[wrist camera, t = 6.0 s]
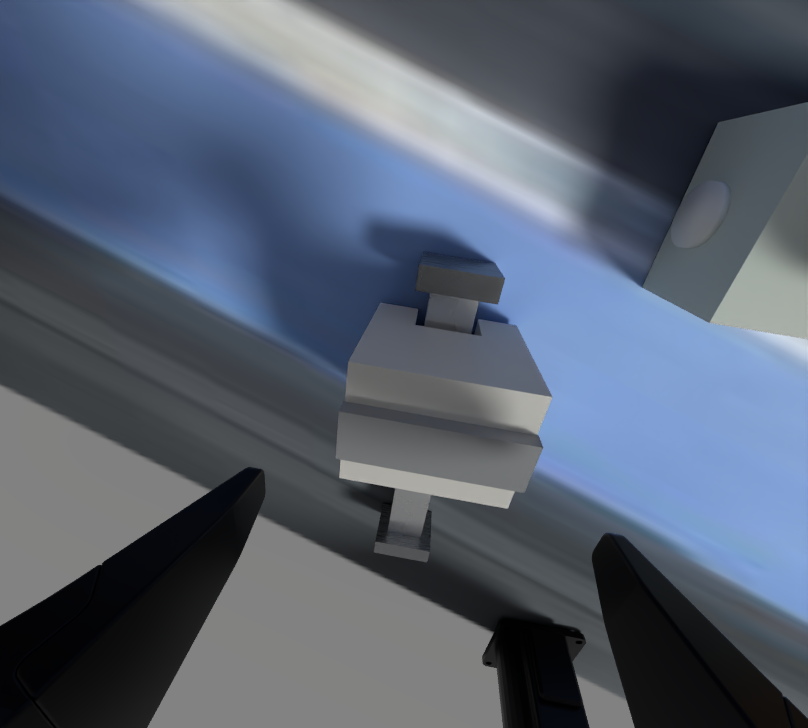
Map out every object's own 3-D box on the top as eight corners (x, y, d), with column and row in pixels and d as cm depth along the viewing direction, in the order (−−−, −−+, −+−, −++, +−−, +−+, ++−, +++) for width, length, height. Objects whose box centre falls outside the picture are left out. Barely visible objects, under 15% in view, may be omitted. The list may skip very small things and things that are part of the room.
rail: (428, 522, 23) (427, 562, 21) (381, 513, 23) (373, 552, 21) (495, 263, 15) (505, 278, 13) (423, 251, 16) (419, 264, 13)
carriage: (490, 413, 19) (511, 522, 13) (369, 391, 19) (333, 489, 13) (517, 325, 16) (559, 408, 10) (379, 302, 16) (341, 370, 10)
